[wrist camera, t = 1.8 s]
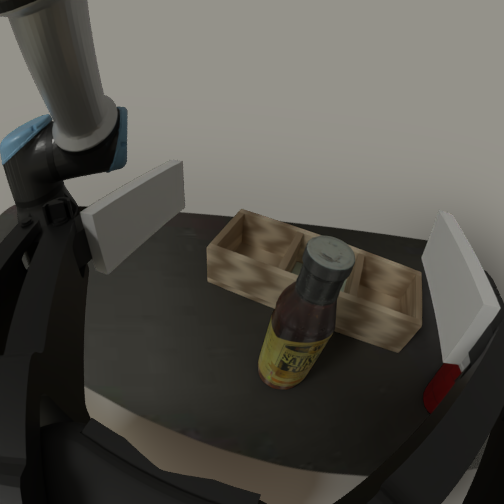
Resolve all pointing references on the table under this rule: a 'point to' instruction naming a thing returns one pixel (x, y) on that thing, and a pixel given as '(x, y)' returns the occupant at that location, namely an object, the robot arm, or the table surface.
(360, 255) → the wooden compartment box
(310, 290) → the sauce bottle
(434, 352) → the table surface
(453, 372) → the plastic cup
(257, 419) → the table surface
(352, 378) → the table surface
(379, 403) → the table surface
